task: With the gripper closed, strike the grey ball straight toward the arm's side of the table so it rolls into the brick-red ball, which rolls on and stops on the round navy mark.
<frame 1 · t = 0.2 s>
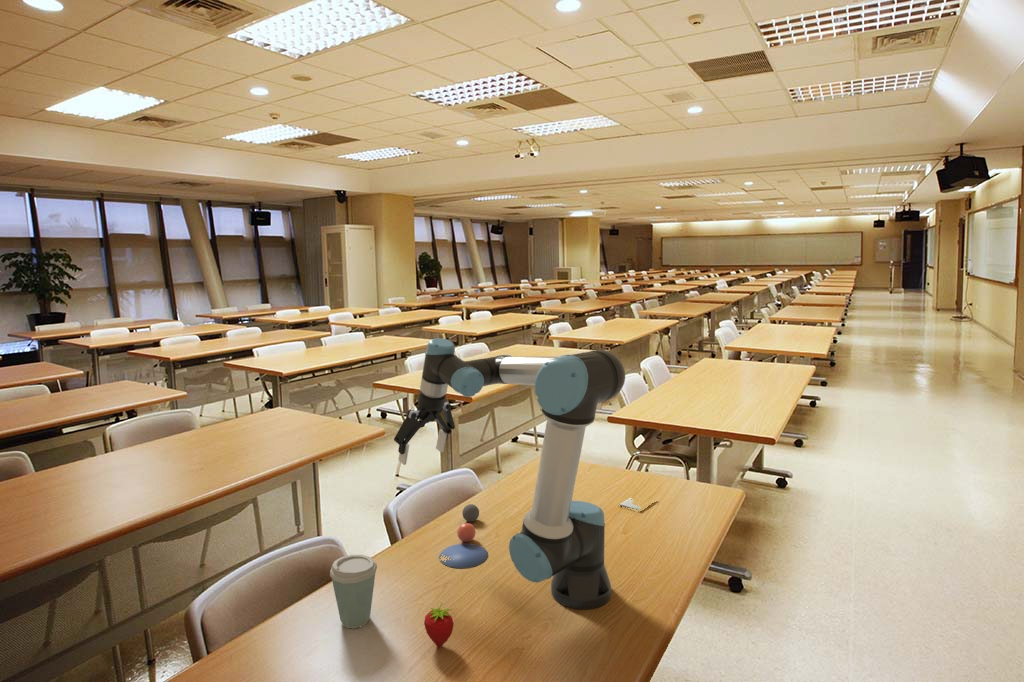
hand: (421, 456, 170), 28 cm above the table, tool tilted 20°, fingers open, 13 cm apart
red ball: (466, 532, 176), on the table
strawberry: (439, 646, 127), on the table
disposable coffee cup: (356, 622, 137), on the table
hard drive: (638, 506, 201), on the table
grey ball: (470, 512, 189), on the table
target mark: (463, 555, 167), on the table
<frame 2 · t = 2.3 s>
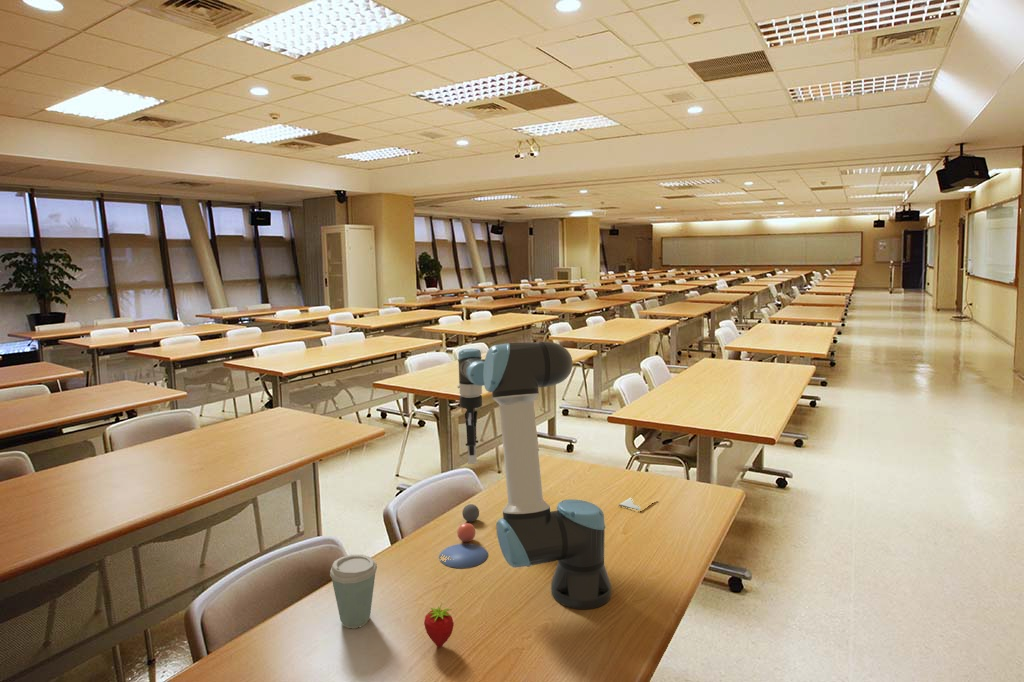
hand: (472, 462, 197), 16 cm above the table, tool pointing down, fingers closed
nothing on the table moved.
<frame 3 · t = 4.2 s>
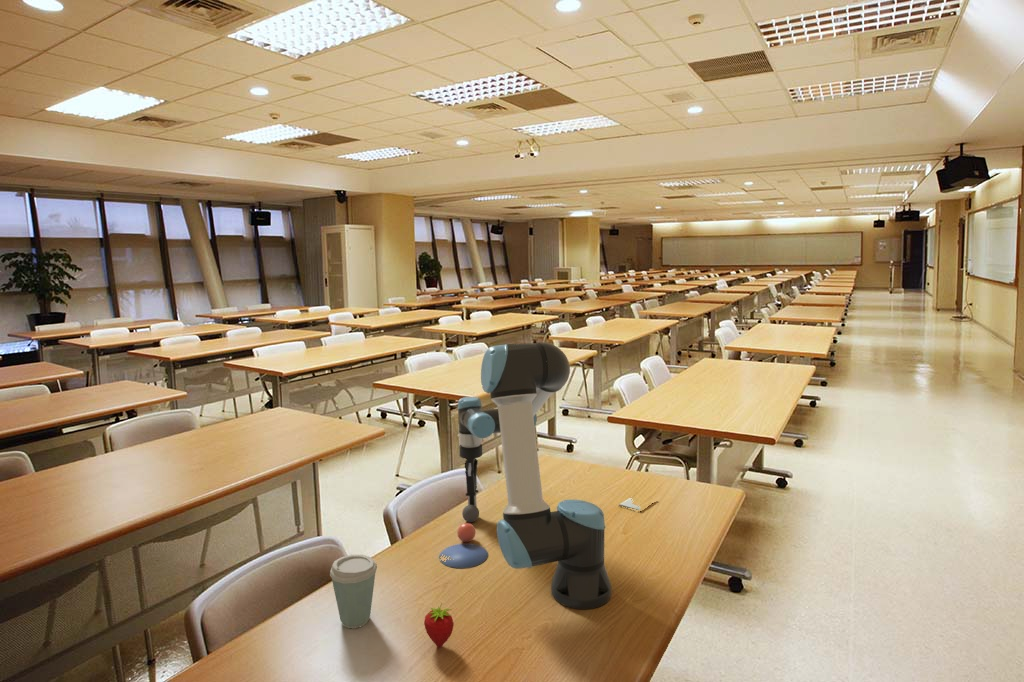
hand: (472, 512, 193), 1 cm above the table, tool pointing down, fingers closed
grey ball: (470, 513, 189), on the table, touching gripper
everything else where it was.
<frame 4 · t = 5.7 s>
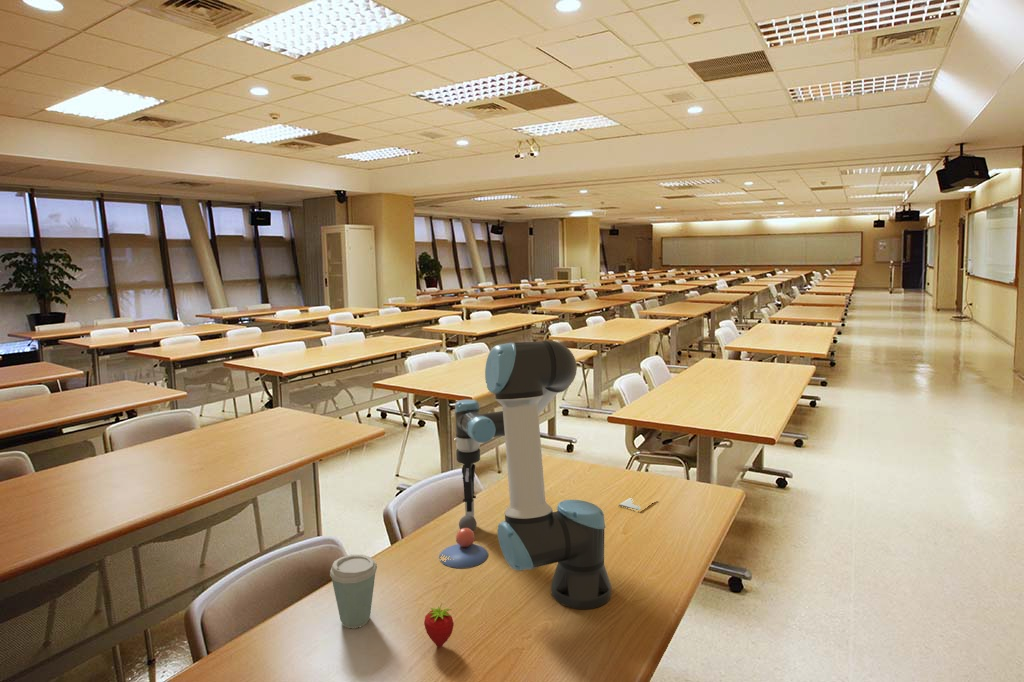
hand: (470, 519, 187), 2 cm above the table, tool pointing down, fingers closed
red ball: (465, 537, 172), on the table
grey ball: (467, 524, 181), on the table
everything else where it was.
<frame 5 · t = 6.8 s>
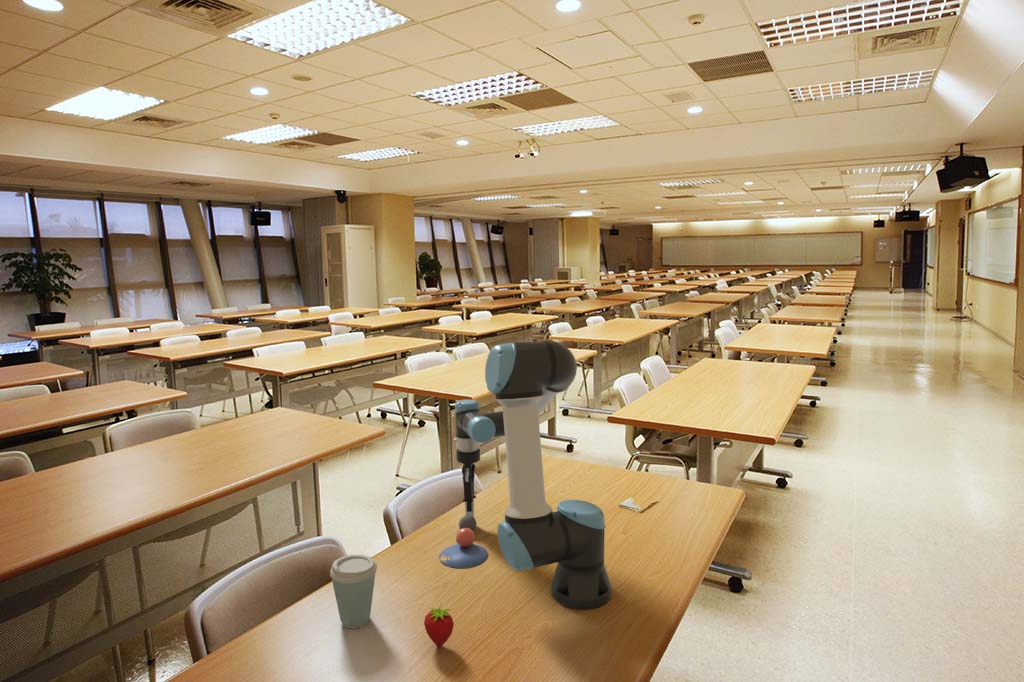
hand: (470, 519, 187), 2 cm above the table, tool pointing down, fingers closed
nothing on the table moved.
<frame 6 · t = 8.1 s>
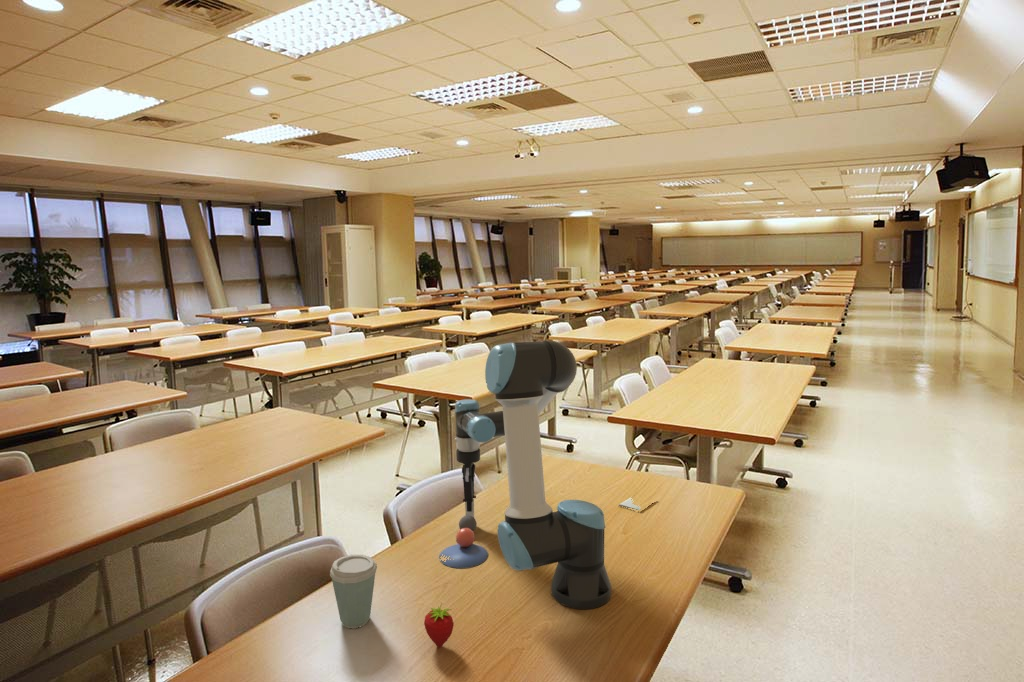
hand: (470, 519, 186), 2 cm above the table, tool pointing down, fingers closed
nothing on the table moved.
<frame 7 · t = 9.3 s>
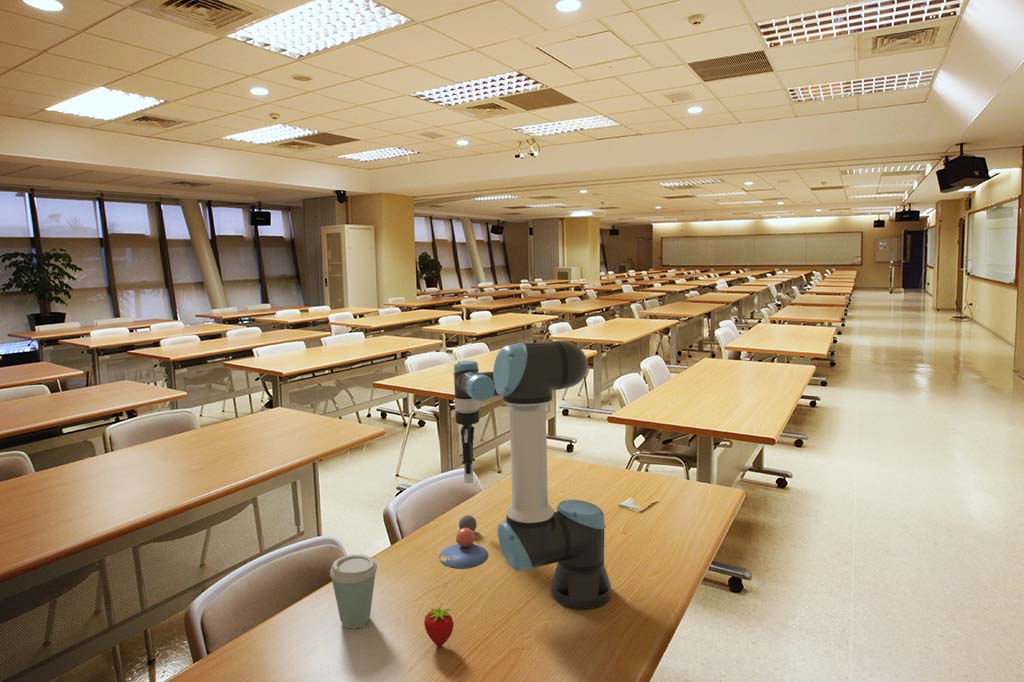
hand: (469, 482, 185), 14 cm above the table, tool pointing down, fingers closed
nothing on the table moved.
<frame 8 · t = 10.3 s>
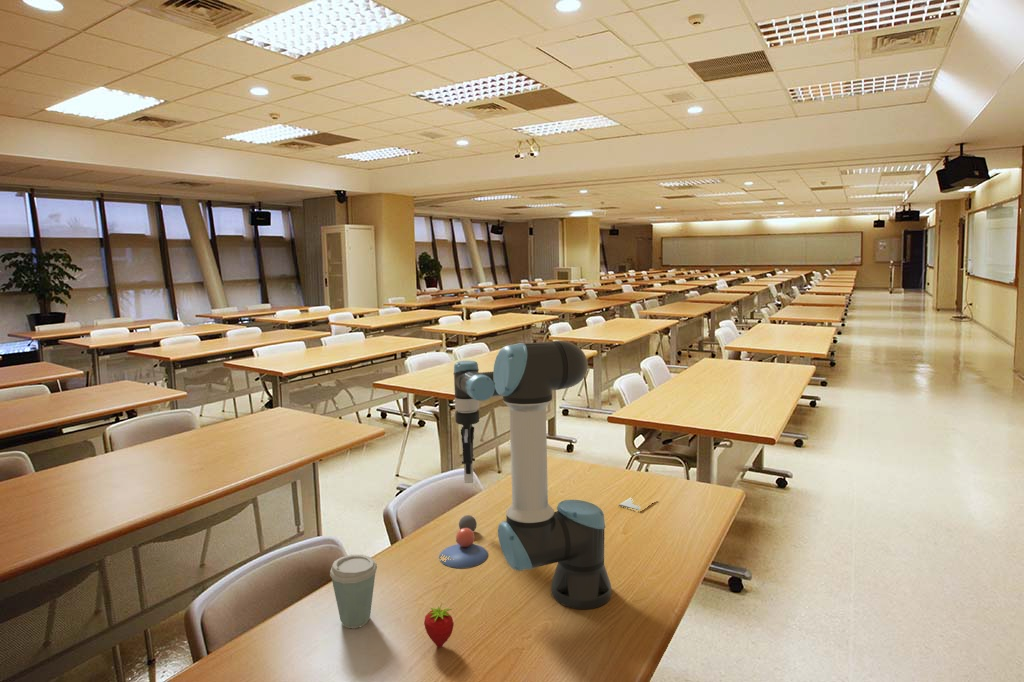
hand: (469, 482, 185), 14 cm above the table, tool pointing down, fingers closed
nothing on the table moved.
at the end: red ball 5.7 cm from the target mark (horizontally); red ball never touched the robot; grey ball first touched red ball at 4.7 s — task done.
